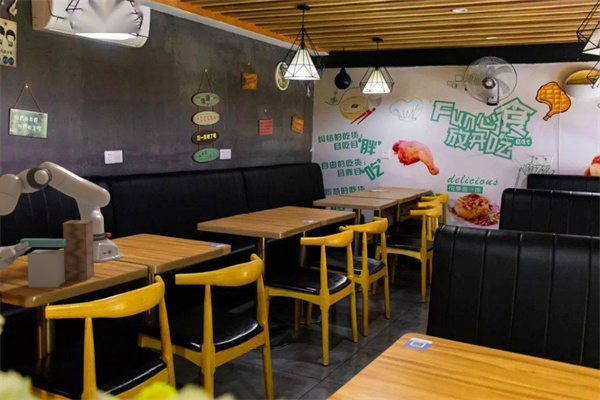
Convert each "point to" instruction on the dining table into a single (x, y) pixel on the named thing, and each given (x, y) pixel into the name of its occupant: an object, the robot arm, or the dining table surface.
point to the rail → (45, 242)
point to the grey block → (46, 268)
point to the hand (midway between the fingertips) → (31, 241)
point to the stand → (78, 250)
